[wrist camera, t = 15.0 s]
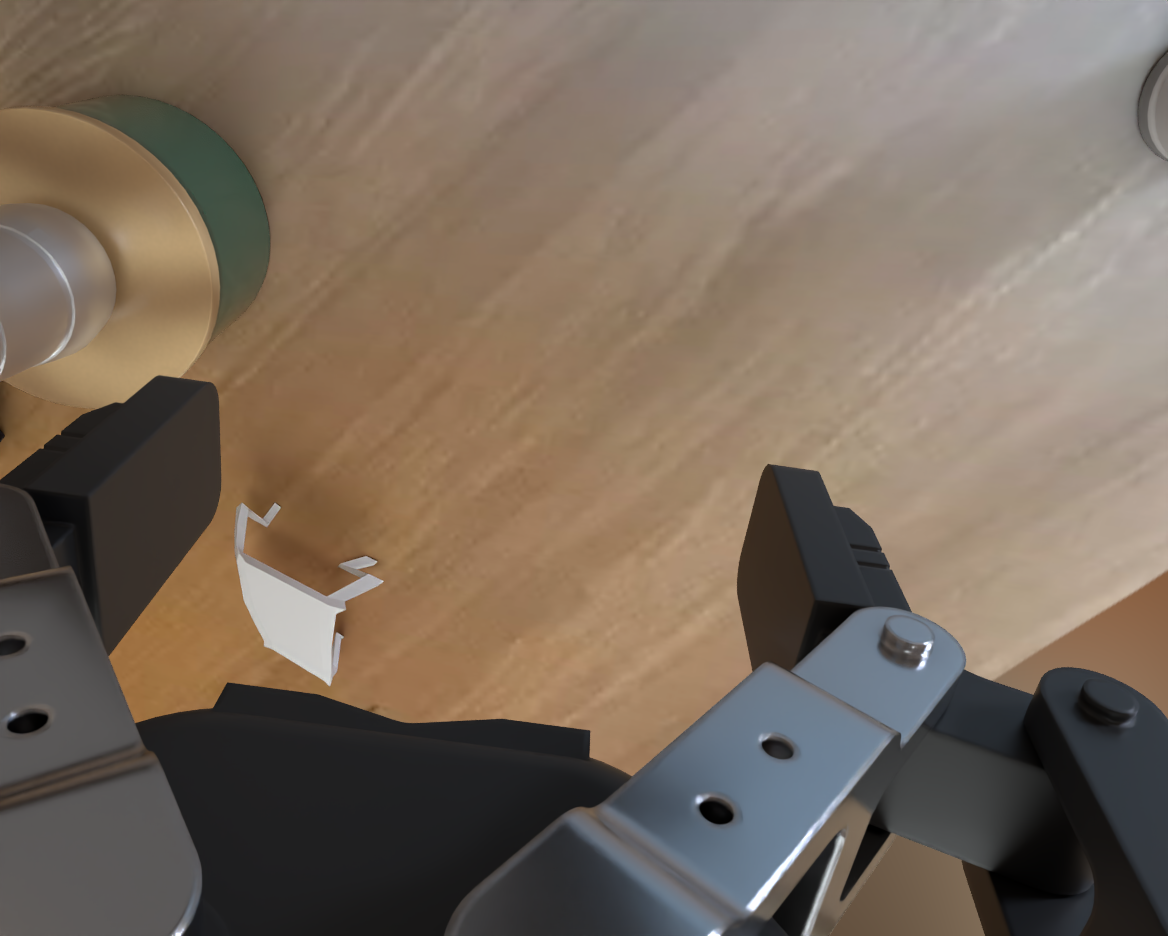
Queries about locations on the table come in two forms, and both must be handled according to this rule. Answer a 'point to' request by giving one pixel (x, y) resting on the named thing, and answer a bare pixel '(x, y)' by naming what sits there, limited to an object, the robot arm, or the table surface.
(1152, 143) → the travel mug
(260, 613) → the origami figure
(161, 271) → the crock
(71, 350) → the silver metal bottle
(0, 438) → the mate gourd
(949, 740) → the robot arm
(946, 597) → the table surface
